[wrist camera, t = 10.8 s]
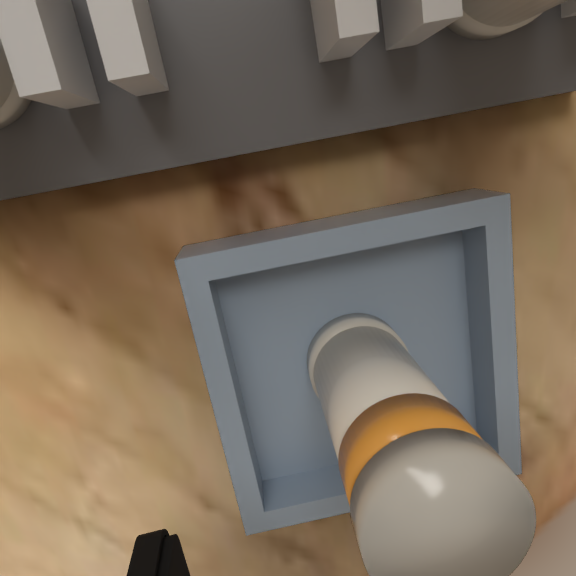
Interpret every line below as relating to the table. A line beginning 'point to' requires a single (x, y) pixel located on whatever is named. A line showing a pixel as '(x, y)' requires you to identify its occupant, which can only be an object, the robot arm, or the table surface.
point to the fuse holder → (246, 78)
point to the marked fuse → (413, 461)
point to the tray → (340, 301)
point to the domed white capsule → (9, 94)
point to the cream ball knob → (497, 16)
